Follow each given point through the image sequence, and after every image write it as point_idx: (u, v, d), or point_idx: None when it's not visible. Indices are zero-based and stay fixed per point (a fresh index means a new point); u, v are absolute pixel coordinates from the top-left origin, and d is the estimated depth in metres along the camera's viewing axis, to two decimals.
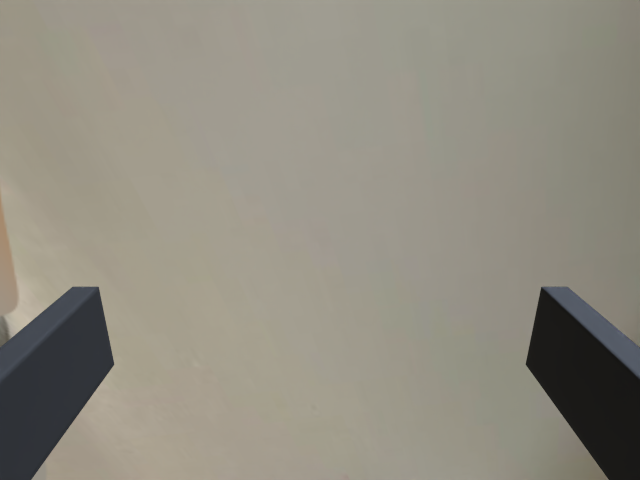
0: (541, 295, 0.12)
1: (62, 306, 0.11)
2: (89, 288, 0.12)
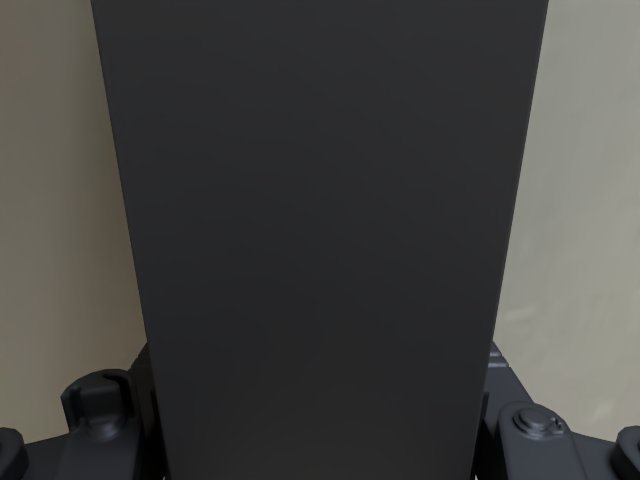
0: None
1: None
2: None
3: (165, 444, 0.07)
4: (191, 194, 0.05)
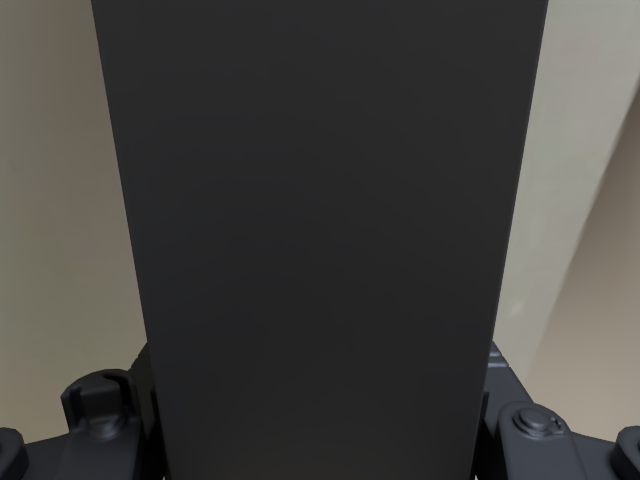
0: None
1: None
2: None
3: (165, 444, 0.07)
4: (191, 193, 0.05)
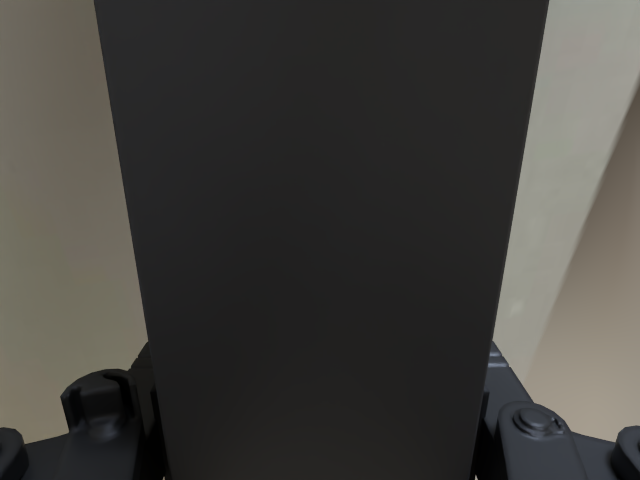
0: None
1: None
2: None
3: (166, 442, 0.07)
4: (194, 193, 0.05)
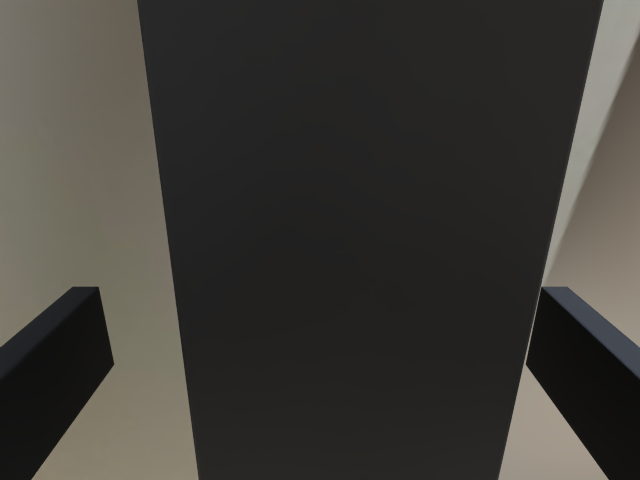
0: (541, 295, 0.12)
1: (62, 306, 0.11)
2: (89, 288, 0.12)
3: (188, 390, 0.07)
4: (225, 110, 0.05)
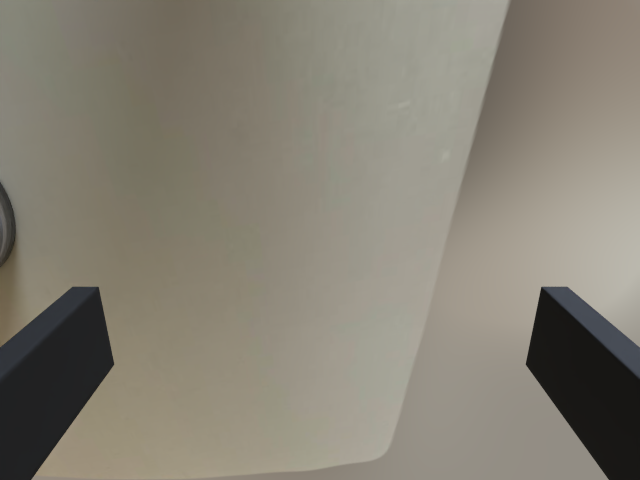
0: (541, 295, 0.12)
1: (62, 306, 0.11)
2: (89, 288, 0.12)
3: None
4: None
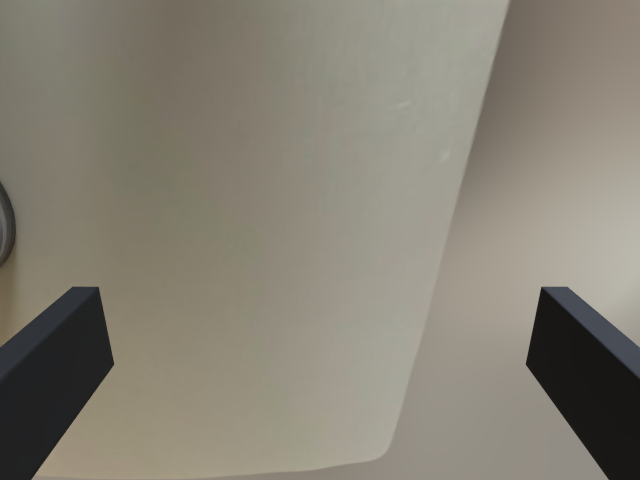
0: (541, 295, 0.12)
1: (62, 306, 0.11)
2: (89, 288, 0.12)
3: None
4: None
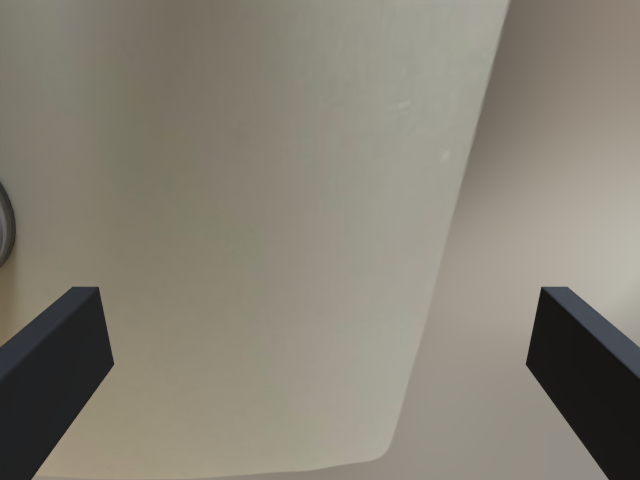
0: (541, 295, 0.12)
1: (62, 306, 0.11)
2: (89, 288, 0.12)
3: None
4: None
